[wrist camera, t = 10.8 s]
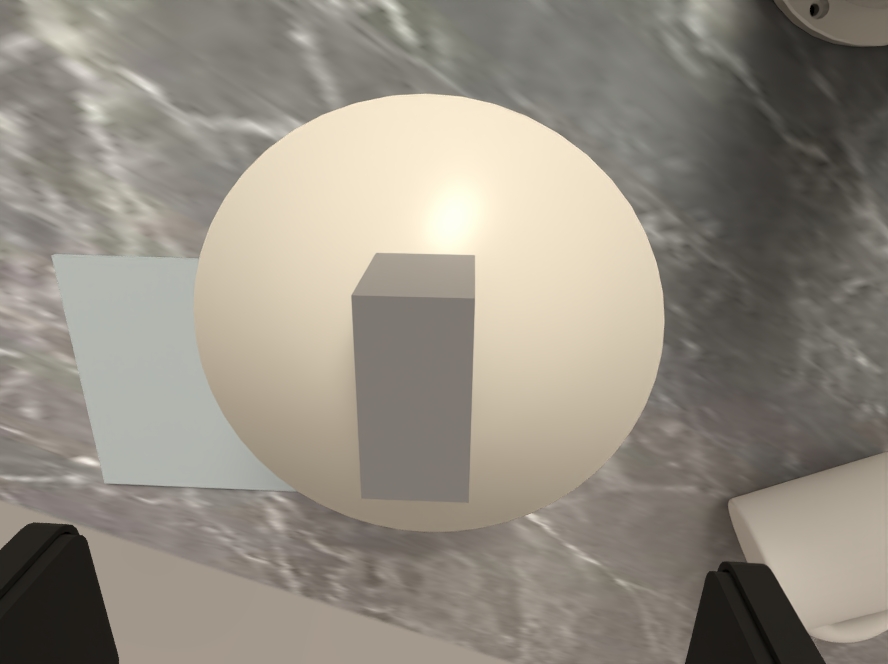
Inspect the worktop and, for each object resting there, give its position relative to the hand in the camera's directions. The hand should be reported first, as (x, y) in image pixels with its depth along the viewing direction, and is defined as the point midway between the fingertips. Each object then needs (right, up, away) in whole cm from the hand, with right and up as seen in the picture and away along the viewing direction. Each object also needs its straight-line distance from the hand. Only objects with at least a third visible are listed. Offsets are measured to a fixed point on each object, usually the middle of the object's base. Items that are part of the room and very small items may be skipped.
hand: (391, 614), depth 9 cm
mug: (+25, -8, +32) cm, 41 cm away
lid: (0, +4, +11) cm, 12 cm away
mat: (-14, +1, +29) cm, 33 cm away
